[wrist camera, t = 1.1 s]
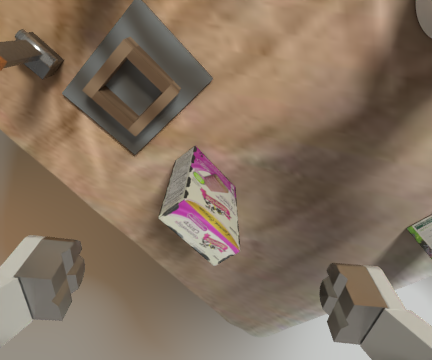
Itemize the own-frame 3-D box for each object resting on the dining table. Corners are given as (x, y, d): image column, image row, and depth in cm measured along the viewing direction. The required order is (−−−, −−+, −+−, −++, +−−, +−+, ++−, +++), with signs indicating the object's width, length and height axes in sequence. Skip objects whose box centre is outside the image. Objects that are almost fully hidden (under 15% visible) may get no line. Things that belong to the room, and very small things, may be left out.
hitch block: (138, -4, 38) (130, -5, 35) (212, 78, 43) (212, 84, 40) (64, 92, 45) (51, 99, 41) (136, 152, 50) (129, 163, 46)
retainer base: (35, 27, 40) (18, 29, 37) (67, 56, 42) (53, 60, 39) (22, 48, 42) (4, 51, 38) (53, 74, 43) (39, 80, 40)
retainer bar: (25, 38, 37) (-31, 43, 28) (44, 54, 38) (-5, 64, 29) (20, 45, 37) (-37, 52, 29) (39, 61, 38) (-11, 73, 30)
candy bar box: (237, 186, 53) (242, 252, 39) (216, 200, 55) (214, 268, 41) (195, 142, 49) (184, 199, 35) (174, 159, 50) (155, 220, 36)
